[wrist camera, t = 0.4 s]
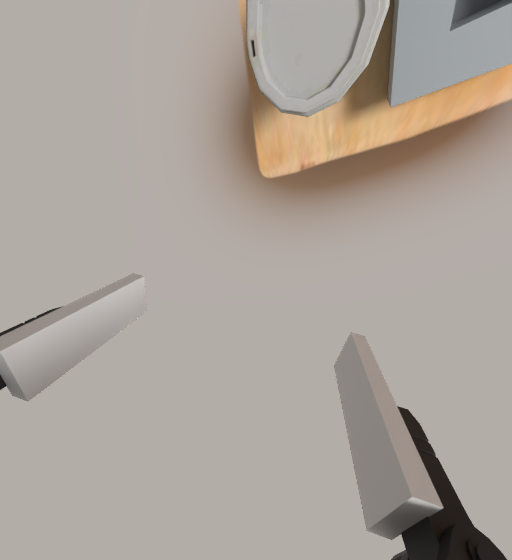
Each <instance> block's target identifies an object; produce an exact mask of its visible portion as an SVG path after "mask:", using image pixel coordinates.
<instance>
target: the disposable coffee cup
mask: <svg viewBox="0 0 512 560" xmlns="http://www.w3.org/2000/svg"><path fill="white" fill-rule="evenodd" d="M389 5H390V0H246V42H247V48H248V55H249V60H250V63H251V66H252V69H253V72H254V75H255V78H256V81H257V84H258V87H259V90H260V91H261V92H262V93H263V94H264V95H265V96H266V97H267V98H268V99H269V100H270V101H271V102H272V104H273V105H274V106H275V107H276V108H277V109H278V110H279V111H280V112H282V113H288V114H294V115H300V116H306V117H309V116H311V115H313V114H315V113H317V112H319V111H321V110H323V109H325V108H327V107H329V106H331V105H333V104H335V103H337V102H339V101H340V99H341V98H342V97H343V96H344V94H345V93H346V92H347V91H348V89H349V88H350V87H351V86H352V84H353V83H354V82H355V81H356V79H357V78H358V77H359V76H360V74H361V73H362V72H363V71H364V69H365V68H366V67H367V66H368V64H369V61H370V58H371V56H372V53H373V50H374V47H375V44H376V42H377V39H378V36H379V33H380V31H381V28H382V25H383V22H384V19H385V17H386V14H387V11H388V8H389Z"/></svg>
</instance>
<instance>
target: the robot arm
mask: <svg viewBox="0 0 512 560" xmlns="http://www.w3.org/2000/svg"><path fill="white" fill-rule="evenodd" d="M146 311H147V305H146V293H145V283H144V276H141V275H137V274H134V273H133V274H131V275H129V276H127V277H125V278H123V279H121V280H118V281H116V282H114V283H112V284H110V285H108V286H106V287H104V288H102V289H99V290H97V291H95V292H93V293H91V294H89V295H87V296H85V297H82V298H80V299H78V300H76V301H74V302H72V303H70V304H68V305H66V306H63V307H59V308H55V309H52V310H49V311H47V312H45V313H43V314H40V315H38V316H37V317H36V318H32V319H30V320H28V321H25V323H21V324H19V325H17V326H15V327H12V328H10V329H8V330H6V331H4V332H2V333H0V390H1V389H2V388H4V387H6V386H7V387H8V389H9V391H10V392H11V394H12V396H15V397H18V398H20V399H23V400H26V401H29V400H31V399H32V398H33V397H35V396H36V395H37V394H39V393H40V392H41V391H42V390H44V389H45V388H47V387H48V386H49V385H50V384H52V383H53V382H54V381H56V380H57V379H58V378H59V377H61V376H62V375H64V374H65V373H66V372H68V371H69V370H70V369H71V368H73V367H74V366H75V365H77V364H78V363H79V362H81V361H82V360H83V359H85V358H86V357H87V356H88V355H90V354H91V353H93V352H94V351H95V350H96V349H98V348H99V347H100V346H102V345H103V344H104V343H106V342H107V341H108V340H109V339H111V338H112V337H114V336H115V335H116V334H117V333H119V332H120V331H121V330H123V329H124V328H125V327H127V326H128V325H129V324H131V323H132V322H133V321H135V320H136V319H137V318H138V317H140V316H141V315H143V314H144V313H145V312H146ZM334 368H335V373H336V378H337V383H338V388H339V393H340V399H341V404H342V409H343V413H344V419H345V424H346V429H347V433H348V439H349V444H350V449H351V454H352V458H353V464H354V469H355V474H356V478H357V484H358V489H359V494H360V499H361V504H362V509H363V514H364V519H365V524H366V529H367V531H370V532H372V533H375V534H377V535H380V536H383V537H385V538H388V539H391V540H392V539H394V538H395V537H397V536H399V535H400V534H402V538H403V541H404V544H405V548H406V550H405V551H403V552H401V553H399V554H397V555H395V556H394V557H393V558H392V559H391V560H507V559H506V558H505V556H504V555H503V554H502V553H501V551H500V550H499V549H498V548H497V547H496V546H495V545H494V544H493V543H492V542H491V540H490V539H489V538H488V537H486V536H485V535H484V534H483V533H481V532H480V531H479V530H478V529H476V528H475V527H474V525H473V524H472V522H471V520H470V519H469V517H468V515H467V513H466V511H465V510H464V508H463V506H462V504H461V502H460V500H459V498H458V496H457V494H456V492H455V490H454V488H453V487H452V485H451V483H450V481H449V479H448V477H447V475H446V473H445V471H444V469H443V468H442V465H441V464H440V462H439V460H438V458H436V456H435V452H434V450H433V448H432V447H431V445H430V444H429V443H428V439H427V437H426V435H425V433H424V431H423V429H422V427H421V425H420V424H419V423H418V421H417V420H416V419H415V418H414V417H413V415H412V414H411V413H410V412H409V410H408V409H404V408H401V407H398V406H397V405H396V403H395V401H394V399H393V396H392V394H391V392H390V390H389V388H388V385H387V383H386V381H385V379H384V377H383V375H382V372H381V370H380V368H379V366H378V364H377V362H376V360H375V357H374V355H373V353H372V351H371V348H370V346H369V344H368V342H367V340H366V338H365V336H363V335H359V334H356V333H352V332H351V333H350V335H349V337H348V339H347V341H346V343H345V345H344V347H343V349H342V351H341V353H340V355H339V357H338V359H337V361H336V363H335V365H334Z"/></svg>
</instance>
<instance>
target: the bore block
mask: <svg viewBox="0 0 512 560" xmlns="http://www.w3.org/2000/svg"><path fill="white" fill-rule="evenodd" d="M511 63H512V0H394V7H393V21H392V36H391V50H390V65H389V79H388V94H387V99H388V102H389V105H390V107H393V106H396V105H398V104H401V103H404V102H407V101H409V100H412V99H415V98H418V97H421V96H423V95H426V94H429V93H432V92H434V91H437V90H440V89H443V88H445V87H448V86H451V85H454V84H456V83H459V82H462V81H465V80H467V79H470V78H473V77H476V76H478V75H481V74H484V73H487V72H489V71H492V70H495V69H498V68H500V67H503V66H506V65H509V64H511Z"/></svg>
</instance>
